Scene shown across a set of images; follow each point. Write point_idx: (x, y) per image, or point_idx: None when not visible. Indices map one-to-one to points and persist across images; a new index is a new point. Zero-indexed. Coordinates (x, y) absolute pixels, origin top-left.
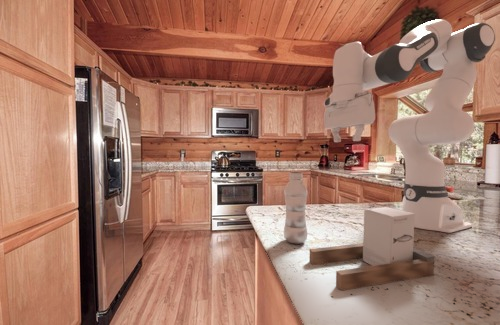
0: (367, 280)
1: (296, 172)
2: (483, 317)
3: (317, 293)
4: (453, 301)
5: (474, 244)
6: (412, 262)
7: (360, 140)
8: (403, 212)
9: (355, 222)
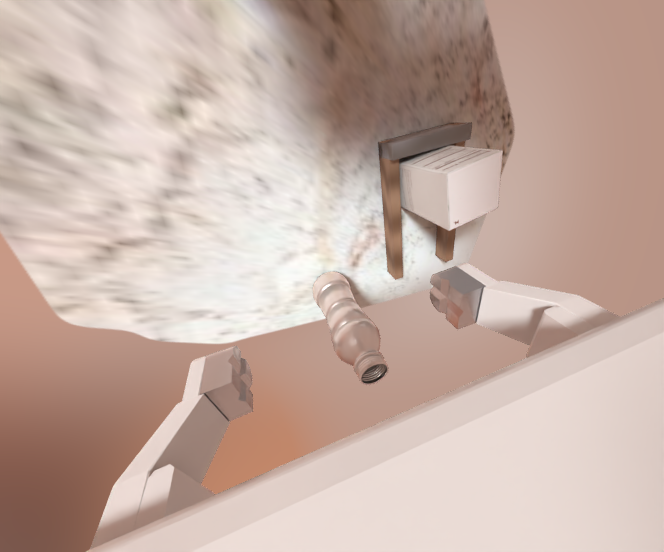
0: None
1: (361, 373)
2: (510, 141)
3: None
4: None
5: None
6: None
7: (463, 263)
8: (492, 170)
9: (170, 103)
